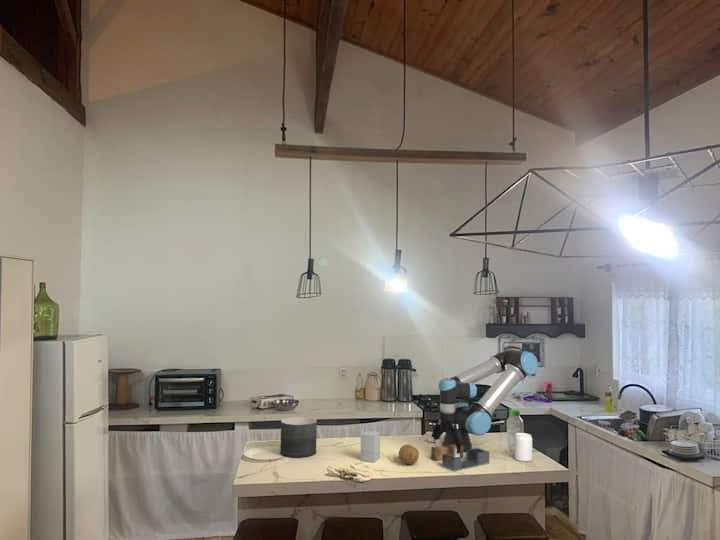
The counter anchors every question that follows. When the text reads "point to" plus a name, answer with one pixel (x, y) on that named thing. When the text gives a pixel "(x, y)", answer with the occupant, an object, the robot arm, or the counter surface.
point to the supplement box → (370, 446)
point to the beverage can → (523, 447)
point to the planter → (298, 437)
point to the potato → (408, 454)
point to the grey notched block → (472, 460)
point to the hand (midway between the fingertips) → (447, 456)
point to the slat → (443, 452)
